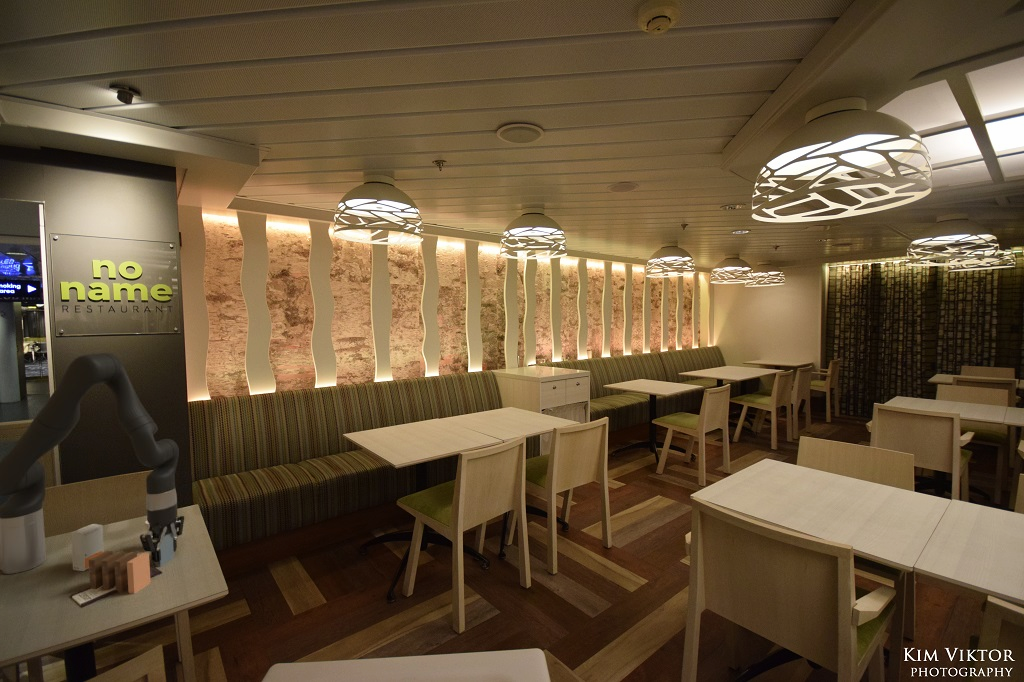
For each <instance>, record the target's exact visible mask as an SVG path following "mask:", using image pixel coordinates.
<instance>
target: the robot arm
mask: <svg viewBox="0 0 1024 682" xmlns="http://www.w3.org/2000/svg"><path fill="white" fill-rule="evenodd" d="M98 384H99V385H100V384H105V386H107V388H108V390H110V391H111V393H112V395H113V397H114V402H115V403H114V404H115V413H116V417H117V420H118V422H119V424H120V425H121V427H122V429H123V430H124V431H125V433H127V435H128V436H129V438H130V440H131V444H132V447H133V450H134V453H135V456H136V458H137V460H138V461H139V463H141V464H142V465H143V466H145V467H148V468H153V470H152V471H151V472H150V473H149V474H147V476H146V481H145V484H146V485H145V487H146V497H145V499H146V500H145V503H146V504H145V505H146V520H147V521H148V523H149V524H150V527H149V531H148V532H145V533H144V534H143V533H142V534H140V536H139V539H140V543H141V545H142V546H141V547H142V548H143V551H144V552H145V553H149V552H150V555H151V561H152V562H154V563H155V562H159V561H161V549H160V546H161V543H162V542H163V540H164V537H165V536H166V535H168V534H170V533H171V534H172V537H173V545H174V553H175V552H177V547H178V543H177V541H178V540H177V539H178V537H179V536H182V535H183V528H184V523H185V516H183V515H178V497H177V496H178V495H177V491H176V479H175V477H176V476H175V474H176V470H177V466H178V462H179V457H180V449H179V447H178V446H179V445H178V444H177V442H175V441H174V440H173V439H170V438H164V439H160V440H158V441H156V439H155V437H154V435H155V434H156V433H157V432H158V430H159V427H158V425H157V424H156V423H155V421H154V419H153V418H152V417H151V415H150V414H149V413H148V411H147V410H146V408H145V407H144V405H143V404H142V402H141V401H140V399H139V396H138V394H137V393H136V390H135V388H134V386H133V384H132V382H131V380H130V377H129V375H128V373H127V371H126V368H125V366H124V365H123V363H122V361H121V360H120V358H119V357H117V356H116V355H115V354H113V353H109V352H100V353H99V352H98V353H89V354H83V355H80V356H77V357H76V358H74V359H73V360H72V362H71V363H70V364H69V366H68V367H67V369H66V371H65V372H64V374H63V376H62V377H61V379H60V381H59V383H58V385H57V387H56V388H55V390H54V392H53V393H52V394H51V396H50V397H49V399H48V400H47V402H45V404H44V405H43V407H42V408H41V409H40V410H39V412H38V413H37V414H36V415H35V417H34V418H33V420H32V421H31V423H30V424H29V426H28V427H27V429H26V430H25V431H24V432H23V434H22V435H21V436H20V438H19V439H18V440H17V442H16V443H15V444H14V446H13V447H12V448H11V449H10V450H9V452H8V453H6V455H5V456H4V457H3V458H2V459H1V460H0V497H4V496H9V495H11V496H10V497H9V498H8V499H7V500H6V501H5V502H4V503H2V504H1V505H0V571H2V573H3V574H5V575H6V574H7V575H8V574H9V575H10V574H18V573H23V572H26V571H29V570H31V569H34V568H37V567H38V566H40V565H42V564H43V563H45V562H46V561H47V555H46V541H45V540H46V538H45V524H44V523H45V522H44V510H43V503H44V501H45V498H46V470H45V468H44V466H43V464H42V462H41V461H40V460H39V459H40V458H42V457H43V456H44V455H46V454H47V453H49V452H50V451H51V450H53V449H54V448H55V447H57V446H58V445H60V443H62V442H63V441H64V440H65V439H66V438H67V437H68V436H69V435H70V433H71V432H72V431H73V429H74V428H75V427H76V425H77V424H78V422H79V421H80V417H81V407H80V404H81V401H82V400H83V398H84V396H85V395H86V394H87V393H88V392H89V390H91V388H92V387H94V386H95V385H98ZM154 538H159V539H158V540H155V539H154ZM155 542H156V543H157V544H156V546H155Z"/></svg>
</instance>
